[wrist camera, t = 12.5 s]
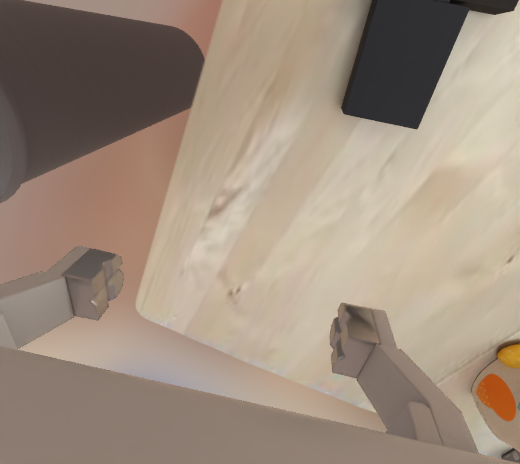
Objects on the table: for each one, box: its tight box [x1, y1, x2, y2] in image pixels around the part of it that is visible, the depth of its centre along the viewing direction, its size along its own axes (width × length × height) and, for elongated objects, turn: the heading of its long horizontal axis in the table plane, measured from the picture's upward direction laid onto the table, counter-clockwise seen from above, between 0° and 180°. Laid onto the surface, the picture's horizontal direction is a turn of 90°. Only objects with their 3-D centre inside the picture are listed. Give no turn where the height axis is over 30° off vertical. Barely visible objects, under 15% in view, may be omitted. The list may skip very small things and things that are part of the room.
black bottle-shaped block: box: [341, 0, 470, 129], centre depth 23 cm, size 6×11×3 cm, turn 170°
